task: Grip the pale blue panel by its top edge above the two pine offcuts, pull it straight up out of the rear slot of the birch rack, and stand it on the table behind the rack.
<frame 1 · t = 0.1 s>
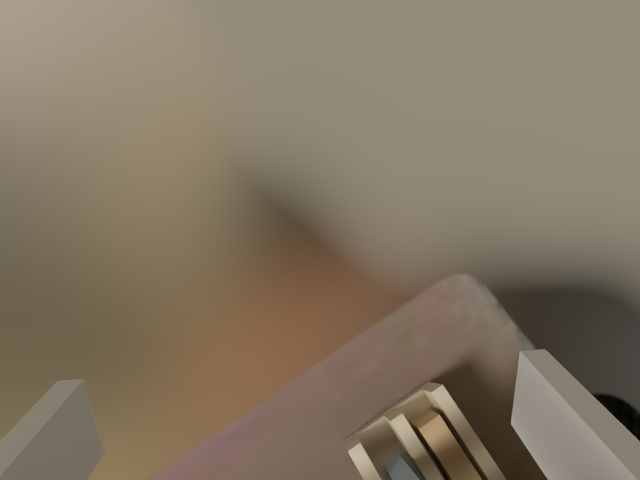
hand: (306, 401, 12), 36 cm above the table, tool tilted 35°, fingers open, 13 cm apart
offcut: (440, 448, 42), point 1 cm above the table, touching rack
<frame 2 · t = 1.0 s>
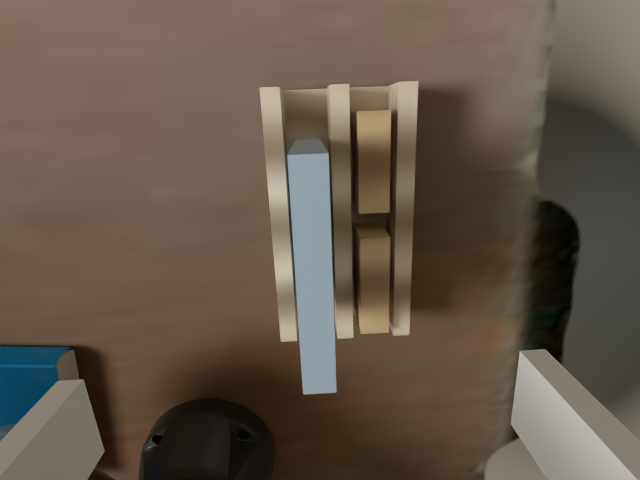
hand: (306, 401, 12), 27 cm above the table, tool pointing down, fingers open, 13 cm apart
pale blue panel: (311, 214, 36), point 1 cm above the table, touching rack
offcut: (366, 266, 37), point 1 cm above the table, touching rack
rack: (337, 209, 37), on the table
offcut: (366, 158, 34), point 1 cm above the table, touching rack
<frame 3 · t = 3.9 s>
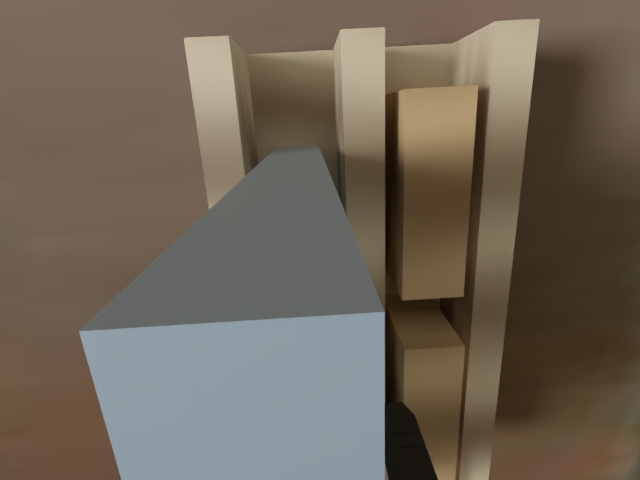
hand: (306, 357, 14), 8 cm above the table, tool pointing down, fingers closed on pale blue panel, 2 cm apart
pale blue panel: (306, 283, 20), point 1 cm above the table, touching gripper, rack
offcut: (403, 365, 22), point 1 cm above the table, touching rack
rack: (352, 269, 21), on the table
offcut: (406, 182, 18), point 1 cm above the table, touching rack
when the fingers open (8 cm above the table, at t = 12.5 s): pale blue panel drops 2 cm, on the table.
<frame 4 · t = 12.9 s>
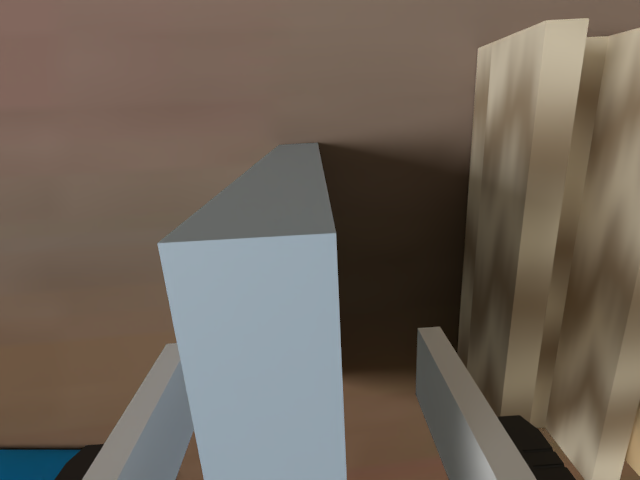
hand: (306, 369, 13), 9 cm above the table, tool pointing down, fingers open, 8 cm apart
pale blue panel: (307, 269, 22), on the table
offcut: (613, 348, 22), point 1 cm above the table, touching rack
rack: (567, 254, 22), on the table
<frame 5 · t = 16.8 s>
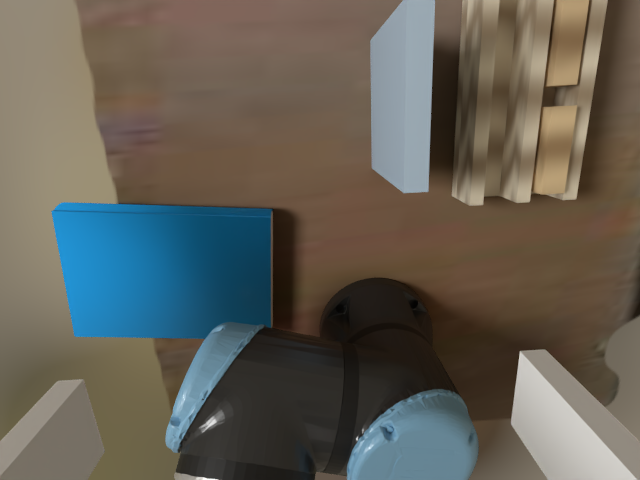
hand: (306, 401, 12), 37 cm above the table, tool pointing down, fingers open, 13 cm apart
pale blue panel: (379, 107, 44), on the table
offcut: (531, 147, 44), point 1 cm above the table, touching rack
rack: (508, 99, 44), on the table
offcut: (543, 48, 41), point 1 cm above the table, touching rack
book: (179, 265, 50), on the table
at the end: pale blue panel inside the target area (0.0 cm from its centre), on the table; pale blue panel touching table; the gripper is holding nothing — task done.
